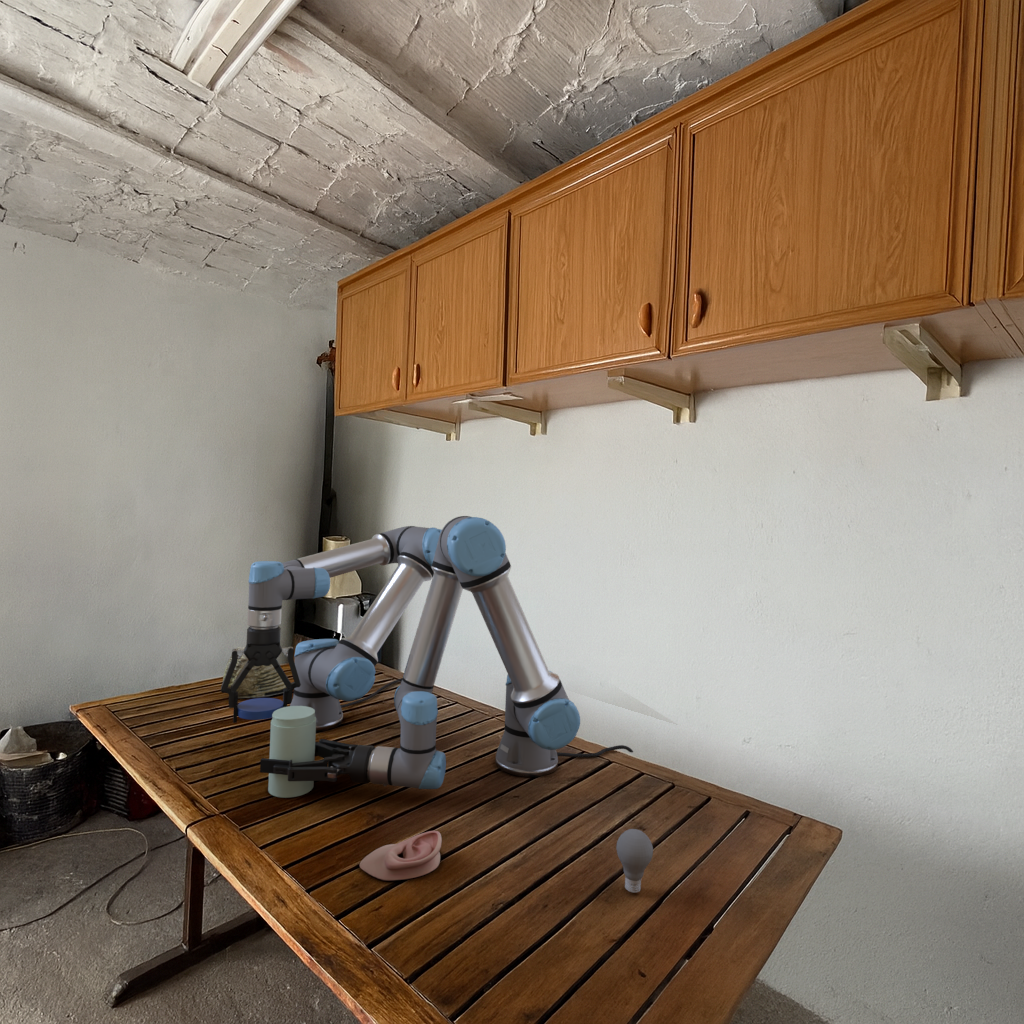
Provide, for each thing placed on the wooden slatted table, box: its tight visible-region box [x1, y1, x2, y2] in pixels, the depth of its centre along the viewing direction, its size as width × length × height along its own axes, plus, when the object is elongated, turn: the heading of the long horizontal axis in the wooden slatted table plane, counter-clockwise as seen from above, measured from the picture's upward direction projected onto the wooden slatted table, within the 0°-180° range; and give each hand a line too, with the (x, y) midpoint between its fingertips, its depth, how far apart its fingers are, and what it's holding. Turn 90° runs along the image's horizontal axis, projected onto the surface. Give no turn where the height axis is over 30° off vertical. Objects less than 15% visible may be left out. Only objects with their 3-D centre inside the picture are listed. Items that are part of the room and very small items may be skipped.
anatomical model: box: [359, 830, 443, 882], centre depth 111 cm, size 13×4×12 cm
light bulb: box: [615, 828, 654, 894], centre depth 106 cm, size 6×6×10 cm
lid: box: [237, 697, 284, 721], centre depth 151 cm, size 10×10×2 cm
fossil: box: [222, 646, 287, 699], centre depth 198 cm, size 9×18×15 cm, turn 132°
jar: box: [267, 705, 317, 799], centre depth 137 cm, size 9×9×16 cm
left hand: (260, 718), depth 151 cm, fingers closed on lid, 10 cm apart
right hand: (272, 755), depth 138 cm, fingers closed on jar, 9 cm apart
